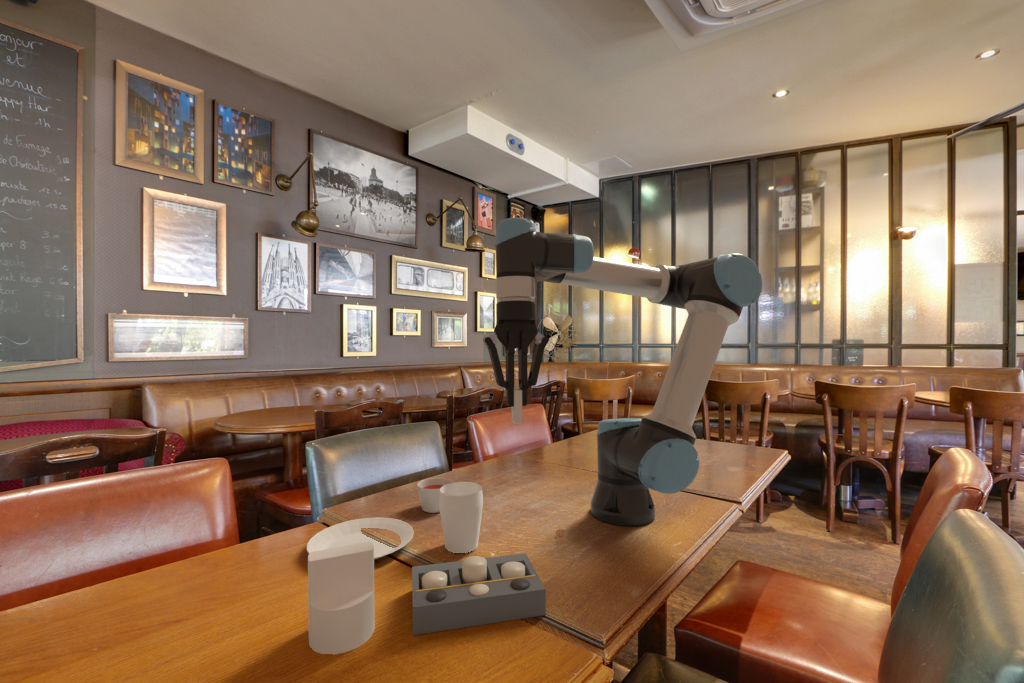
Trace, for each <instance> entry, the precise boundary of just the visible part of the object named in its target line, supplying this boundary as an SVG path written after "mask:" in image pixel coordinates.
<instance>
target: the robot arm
mask: <svg viewBox="0 0 1024 683" xmlns="http://www.w3.org/2000/svg"><path fill="white" fill-rule="evenodd" d="M535 226H536V224H535V222H534V221H533V220H532V219H529V218H526V217H508V218H504V219H502V220H500V221H499V222H498V223H497V225H496V228H495V229H496V230H495V231H496V232H495V245H494V247H495V263H496V264H495V267H496V268H495V269H496V275H495V276H496V279H495V281H496V284H495V286H496V287H495V288H496V289H495V290H496V291H495V292H496V295H495V296H496V297H495V298H496V299H497V300H499V301H498V302H497V303H496V304H495V305H496V306H495V307H496V312H495V313H496V324H495V327H494V329H493V332H492V333H491V334H489V335H488V336H486V337H483V339H482V342H483V343H484V346H485V347H486V348H487V350H488V354H489V359H490V362H491V366H492V370H493V374H494V378H495V382H496V385H497V386H499V387H502V388H504V389H505V393H506V394H505V397H506V398H505V400H506V405H507V406H508V407H510V408H511V411H510V412H511V423H513V425H523V407H526V406H527V405H528V389H529V388H531V387H535V386H536V385H537V383H538V378H539V375H540V370H541V364H542V360H543V357H544V356H543V355H544V350H545V348H546V346H547V345H548V344H549V342H550V338H549V337H548V336H544V334H541V333H540V332H539V329H538V327H537V324H536V303H535V302H534V301H533V300H534V299H536V284H537V283H540V282H546V283H552V284H560V285H565V286H572V287H578V288H579V287H580V288H584V289H589V290H590V289H591V290H596V291H604V292H609V293H614V294H621V295H628V296H633V297H640V298H645V299H647V300H648V301H649V302H650V303H652V304H657V305H663V306H668V307H673V308H677V309H681V310H682V309H683V310H685V311H686V312H687V314H688V315H687V317H686V321H685V324H684V326H683V329H682V332H681V334H680V336H679V340H678V342H677V345H676V348H675V349H674V353H673V355H672V358H671V361H670V363H669V366H668V368H667V372H666V374H665V377H664V379H663V382H662V385H661V387H660V390H659V393H658V395H657V399H656V401H655V403H654V406H653V409H652V411H651V412H650V413H648V414H646V415H644V416H642V417H641V418H640V417H639V418H637V417H636V418H635V417H624V418H620V417H619V418H607V419H602V420H600V421H599V422H598V425H597V431H596V432H597V433H596V438H597V439H596V440H597V441H596V442H597V443H596V444H597V448H596V449H597V482H596V485H595V488H594V491H593V495H592V498H591V501H590V513H591V515H592V516H593V517H594V518H595V519H597V520H599V521H602V522H604V523H607V524H610V525H611V524H612V525H617V526H625V527H626V526H628V527H631V526H635V527H636V526H642V525H647V524H649V523H651V522H653V521H654V520H655V518H656V508H655V507H656V506H655V504H654V500H653V497H652V494H651V492H650V490H652V491H655V492H658V493H661V494H665V495H666V494H667V495H671V494H677V493H679V492H680V491H681V492H682V491H684V490H686V489H687V488H688V487H689V486H690V485H691V484H692V483H694V480H695V478H697V474H698V473H699V470H700V469H699V468H700V459H699V453H698V451H697V449H696V447H695V446H694V445H695V443H696V440H697V436H696V434H695V432H694V430H693V424H694V422H695V420H696V417H697V414H698V411H699V408H700V405H701V403H702V400H703V398H704V394H705V393H706V392H705V391H706V389H707V386H708V383H709V381H710V378H711V376H712V372H713V369H714V367H715V365H716V361H717V359H718V355H719V353H720V350H721V348H722V344H723V342H724V338H726V337H725V336H726V333H727V330H728V328H729V326H731V325H733V324H736V323H737V322H738V321H739V319H740V317H741V314H742V311H743V308H744V307H745V308H746V307H748V306H751V305H752V304H754V303H756V302H757V300H758V301H759V298H760V297H761V294H762V289H763V278H762V275H761V273H760V271H759V267H758V266H757V264H756V263H755V262H754V260H752V259H751V258H750V257H748V256H747V255H744V254H742V253H737V252H735V253H734V252H733V253H728V254H726V253H723V254H720V255H718V256H716V257H712V258H707V259H703V260H698V261H694V262H690V263H689V262H688V263H686V264H679V265H665V264H657V265H655V266H653V267H652V266H647V265H643V264H642V265H641V264H636V263H631V262H626V261H620V260H616V259H609V258H604V257H597V256H595V251H594V250H595V247H594V244H593V241H592V240H591V238H590V237H588V236H585V235H580V234H575V233H573V234H569V233H551V232H549V233H548V232H541V231H536V227H535ZM534 339H535V340H534ZM497 340H498V341H499V342H500V344H501V345H502V346H503V347H504V355H505V362H504V363H505V377H504V372H503V369H502V364H501V362H500V357H499V352H498V347H497V346H496V345H497V343H498V342H497ZM533 341H534V344H536V345H535V347H534V350H533V355H532V360H531V364H530V368H529V372H528V353H529V347H530V345H531V344H532V342H533ZM516 350H517V354H518V355H517V357H518V359H517V360H518V361H517V362H518V366H517V367H518V369H517V370H518V376H517V377H518V388H515V353H516Z"/></svg>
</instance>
